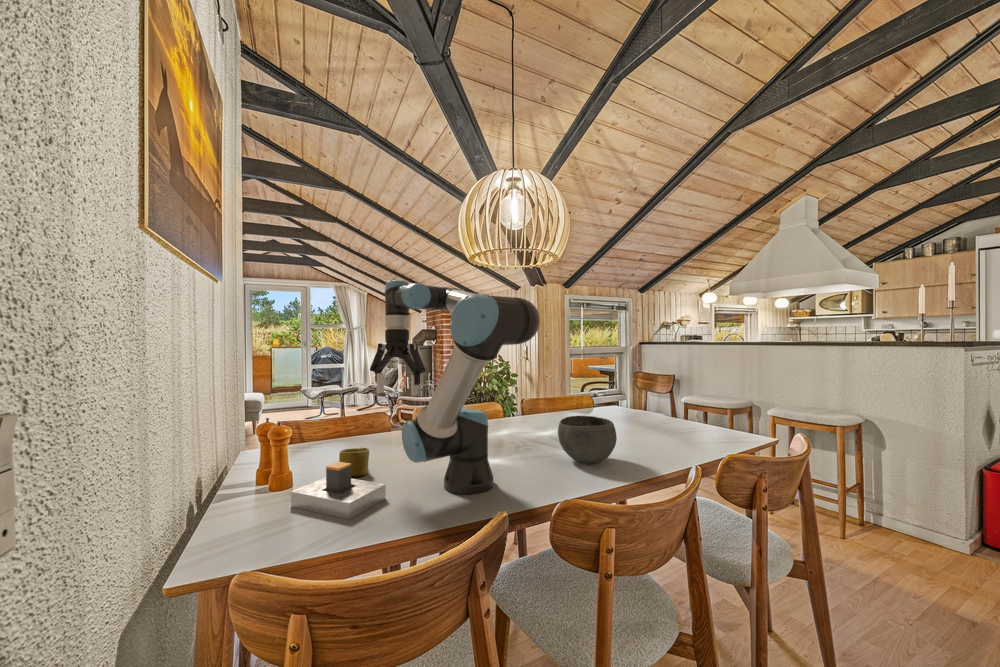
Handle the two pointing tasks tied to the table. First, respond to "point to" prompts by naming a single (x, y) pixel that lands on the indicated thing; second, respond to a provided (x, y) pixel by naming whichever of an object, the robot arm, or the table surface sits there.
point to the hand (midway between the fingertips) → (397, 394)
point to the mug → (356, 460)
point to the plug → (338, 477)
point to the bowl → (587, 438)
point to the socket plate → (338, 498)
